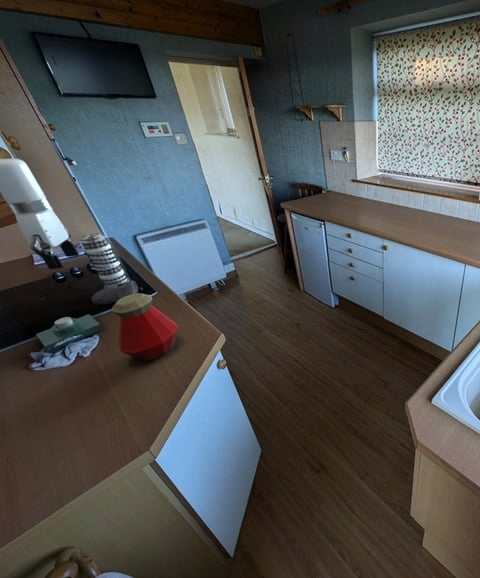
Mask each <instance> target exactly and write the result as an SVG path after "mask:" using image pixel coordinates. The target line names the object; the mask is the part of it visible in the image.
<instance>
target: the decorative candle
mask: <svg viewBox="0 0 480 578" xmlns="http://www.w3.org/2000/svg"><path fill="white" fill-rule="evenodd" d="M79 243H80V244H81V245H82V247H83V250H84V251H83V254H84V256H86V259H87V260H88V262H89V263H90V264H92V265H91V266H92V268H93V270H95V271H97V273H98V276H99V278H100V282H101V283H102V284H103V287H104V289H105V288H107V287H110V286H113V285H116V284H120V283H124V282H128V281H130V279H129V278H128V275H127V273H126V272H125V271H124V269H123V268H122V266H121V265H120V264H121V262H120V259H119V258H118V255H117V254H116V251H115V250H114V249H115V247H113V246H111V244H110V243H109V242H108V239H107V236H106V235H104V234H101V233H89V234H86V235H83V236H82V237H81V239H80V240H79Z"/></svg>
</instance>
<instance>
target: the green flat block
mask: <svg viewBox="0 0 480 578" xmlns="http://www.w3.org/2000/svg"><path fill="white" fill-rule="evenodd" d="M71 319H72V321H73V322H74V323H73V324H72V325H70V326H68V327H65V328H61V329H58V328H57V326H56V325H55V324H54V325H52V327H51V328H49V329H46V330H43V331H41V332H38V333H36V334H35V335H36V337H37V338H38V339H39V340H40V342H41V344H42V345H43V346H44V348H45V349H46V350H47V349H49V348H51V347H52V346H54V345H55V344H56V343H58V342H61V341H64V340H65V339H67V338H69V337H73V336H78V335H82V336H80V337H77V338H76V339H73V340H70V341H68V342H65V343H63V344H61V345H58V346H56V347H53V348H51V349H49V350H47V352H49V353H51V352H54V351H56V350H59V349H61V348H63V347H65V346H67V344H68V343H69V342H72V343H75V342H77V341H79V340H82V339H85V338H87V337H89V336H92V335H94V334H96V333H98V332H101V331H104V328H103V327H102V325H101V324H100V323H99V322H98V321H97V320H96V319H95V318H94V317H93V316H92V315H91V314H86V315H83V316H81V317H78V318H76V317H75V318H74V317H71ZM74 341H75V342H74ZM68 345H69V344H68Z"/></svg>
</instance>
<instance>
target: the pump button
mask: <svg viewBox="0 0 480 578" xmlns="http://www.w3.org/2000/svg"><path fill="white" fill-rule="evenodd" d="M73 323H74V322H73V321H72V317H70V316H66V317H65V316H64V317H62V318H59V319H57V320H55V321H54V325H56V326H57V328H58V329H61V328H65V327H68V326H70V325H72V324H73Z"/></svg>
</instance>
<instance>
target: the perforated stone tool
mask: <svg viewBox="0 0 480 578" xmlns="http://www.w3.org/2000/svg"><path fill="white" fill-rule="evenodd" d="M138 292H139V286H138V284H137V282H136V281H135V280H129V281H128V282H124V283H120V284H116V285H113V286H110V287H107V288H105V287H104V288H103V289H100V290H98V291H97V292H95V293H93V295H92V296H91V302H92V303H93V304H95V305H98V306H99V305H100V306H101V305H110V304H112V303H114V304H115V303H116V302H117V301H118V300H120V299H121V298H123V297H125V296H128V295H131V294H136V293H138Z"/></svg>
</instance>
